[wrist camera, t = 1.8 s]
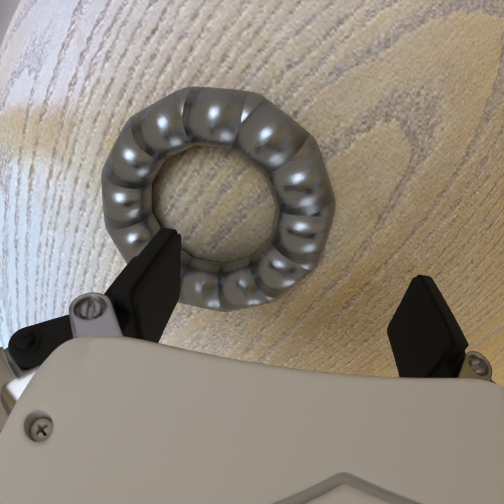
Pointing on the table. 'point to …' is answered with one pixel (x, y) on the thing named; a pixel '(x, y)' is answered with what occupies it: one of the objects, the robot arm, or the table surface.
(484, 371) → the robot arm
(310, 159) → the dark gray twisted ring
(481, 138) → the table surface
